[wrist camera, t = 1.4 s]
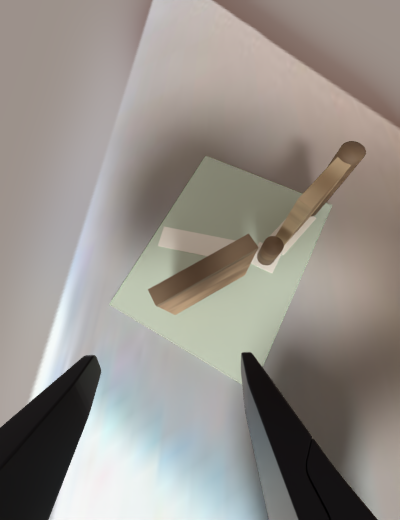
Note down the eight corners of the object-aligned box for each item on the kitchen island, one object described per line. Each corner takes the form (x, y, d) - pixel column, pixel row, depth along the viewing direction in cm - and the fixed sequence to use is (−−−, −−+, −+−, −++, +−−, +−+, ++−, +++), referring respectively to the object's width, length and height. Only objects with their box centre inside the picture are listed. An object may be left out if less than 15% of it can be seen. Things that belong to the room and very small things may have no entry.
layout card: (330, 207, 26) (332, 204, 25) (251, 389, 21) (252, 391, 20) (205, 157, 29) (205, 154, 29) (110, 305, 24) (108, 304, 23)
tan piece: (320, 209, 25) (370, 149, 17) (266, 269, 24) (294, 234, 15) (307, 199, 26) (349, 137, 18) (253, 258, 24) (272, 218, 16)
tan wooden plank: (238, 265, 23) (248, 233, 16) (245, 275, 23) (258, 247, 16) (169, 304, 23) (147, 289, 15) (175, 315, 22) (155, 305, 15)
